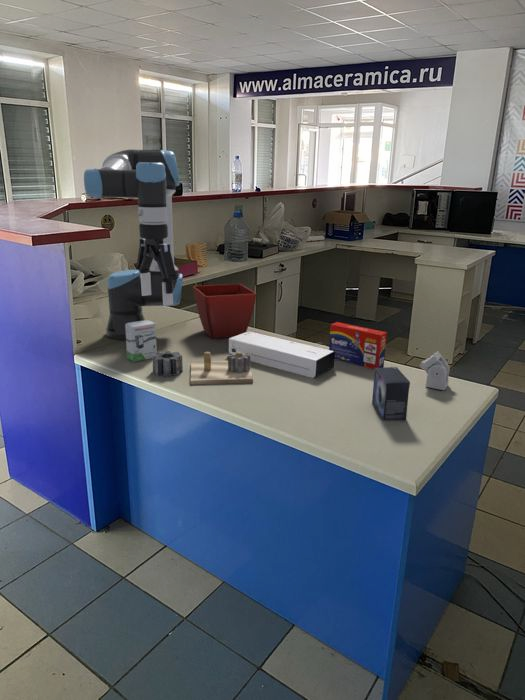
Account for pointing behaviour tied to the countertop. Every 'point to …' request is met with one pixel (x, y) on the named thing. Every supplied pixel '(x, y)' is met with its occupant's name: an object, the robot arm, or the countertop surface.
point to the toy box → (358, 345)
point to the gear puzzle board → (222, 370)
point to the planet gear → (167, 363)
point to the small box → (390, 393)
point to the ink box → (140, 340)
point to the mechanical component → (436, 371)
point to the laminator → (283, 354)
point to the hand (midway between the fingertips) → (157, 300)
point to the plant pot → (224, 308)
